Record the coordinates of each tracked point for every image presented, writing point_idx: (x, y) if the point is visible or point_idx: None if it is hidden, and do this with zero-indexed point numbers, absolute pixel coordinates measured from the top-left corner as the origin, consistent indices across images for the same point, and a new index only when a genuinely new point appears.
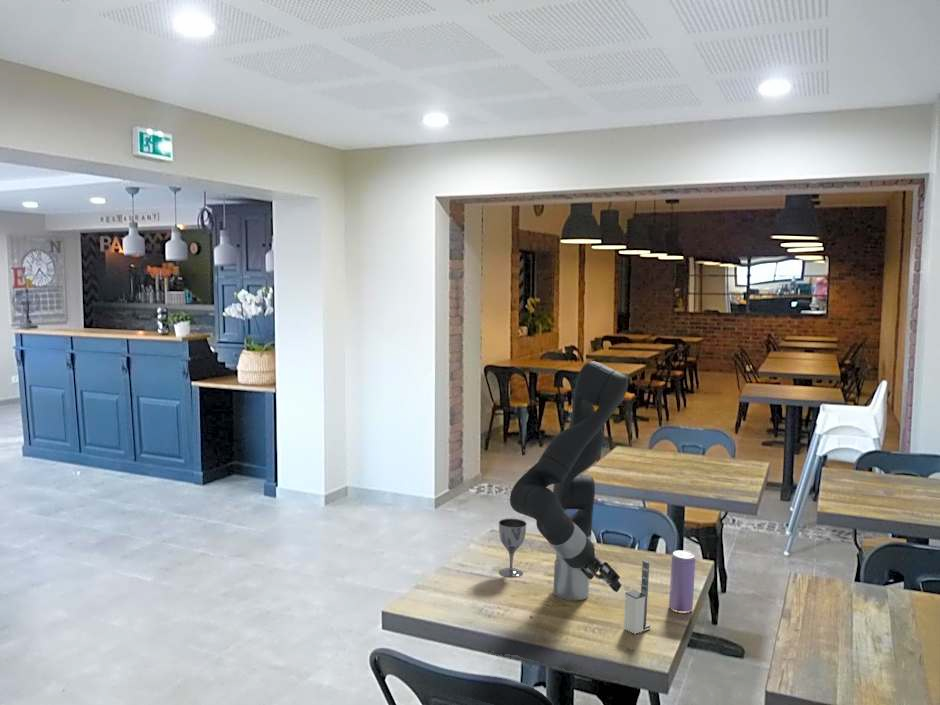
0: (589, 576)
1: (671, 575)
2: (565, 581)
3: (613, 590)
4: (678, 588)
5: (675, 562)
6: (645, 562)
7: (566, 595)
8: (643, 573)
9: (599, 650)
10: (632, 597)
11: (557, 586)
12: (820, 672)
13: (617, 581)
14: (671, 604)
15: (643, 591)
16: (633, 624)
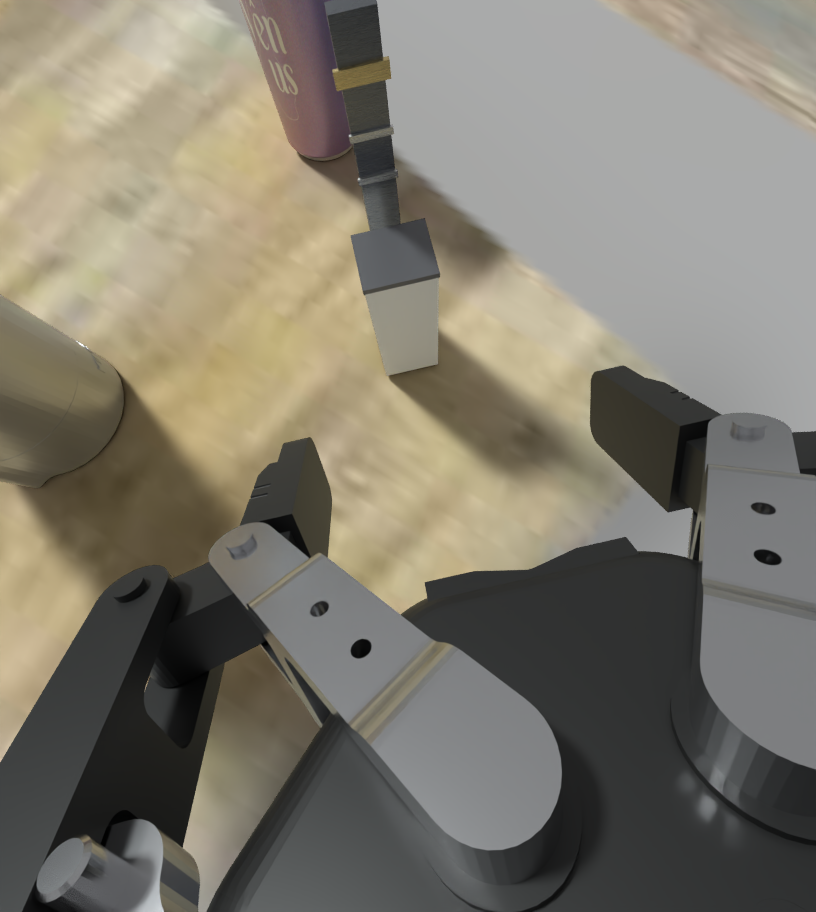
0: (327, 509)
1: (267, 19)
2: (17, 440)
3: (604, 446)
4: (324, 60)
5: None
6: (356, 12)
7: (80, 453)
8: (358, 111)
9: (503, 550)
10: (412, 284)
11: (11, 468)
12: (787, 10)
13: (707, 410)
14: (317, 144)
15: (381, 205)
16: (430, 348)
